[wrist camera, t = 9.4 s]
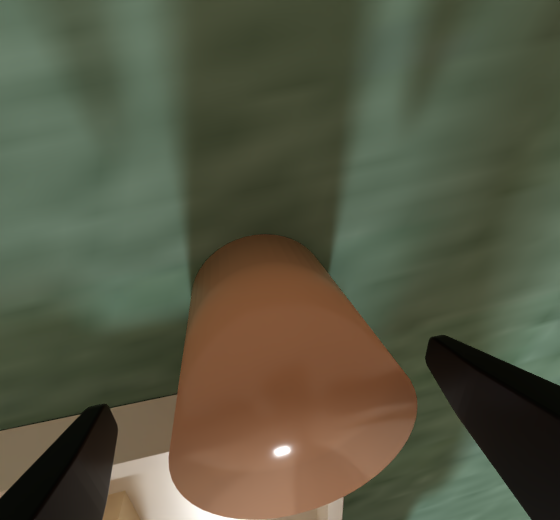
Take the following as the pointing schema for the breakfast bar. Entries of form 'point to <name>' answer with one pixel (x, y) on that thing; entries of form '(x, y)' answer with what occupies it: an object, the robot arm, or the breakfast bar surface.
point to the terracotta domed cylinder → (281, 387)
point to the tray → (130, 462)
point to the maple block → (119, 508)
